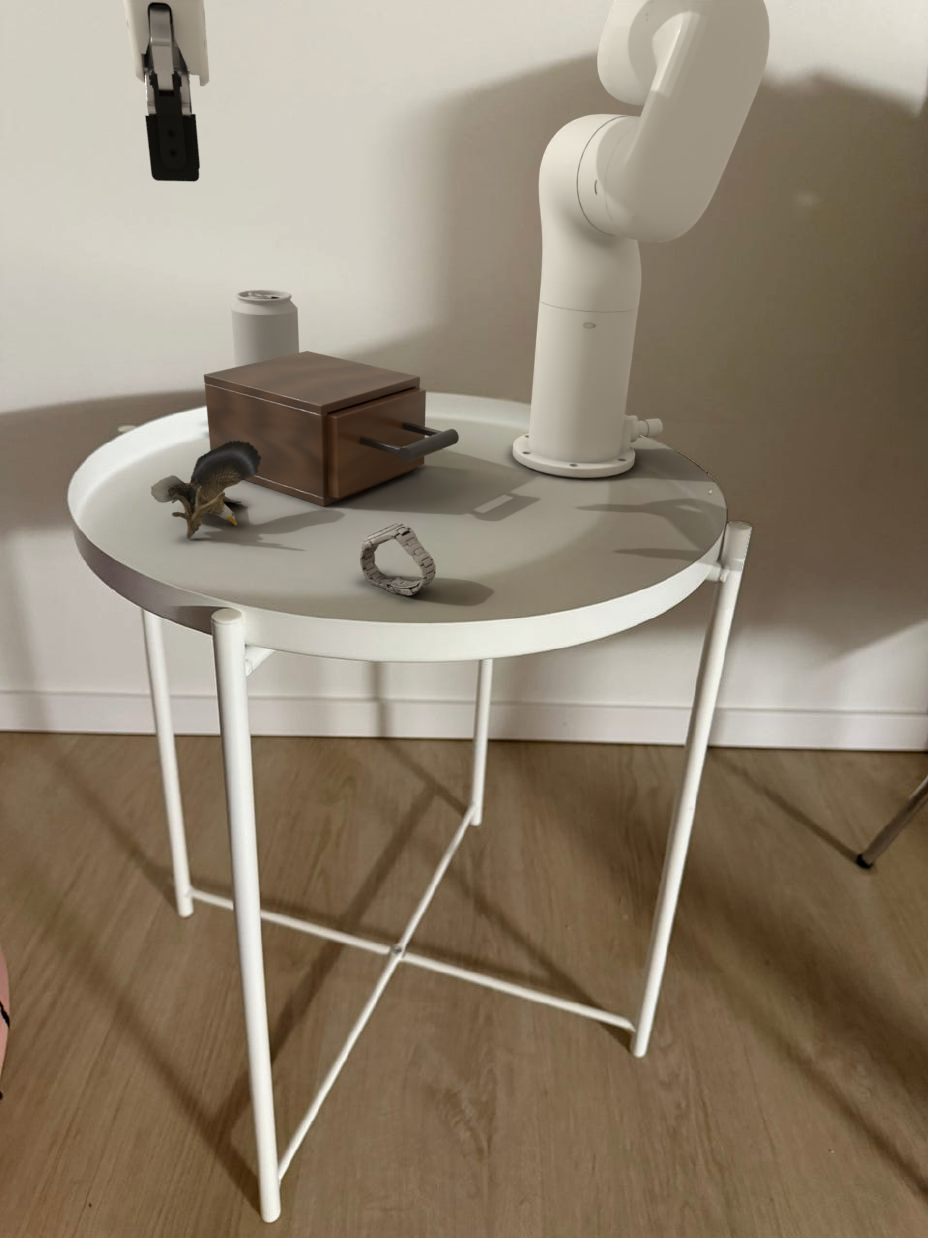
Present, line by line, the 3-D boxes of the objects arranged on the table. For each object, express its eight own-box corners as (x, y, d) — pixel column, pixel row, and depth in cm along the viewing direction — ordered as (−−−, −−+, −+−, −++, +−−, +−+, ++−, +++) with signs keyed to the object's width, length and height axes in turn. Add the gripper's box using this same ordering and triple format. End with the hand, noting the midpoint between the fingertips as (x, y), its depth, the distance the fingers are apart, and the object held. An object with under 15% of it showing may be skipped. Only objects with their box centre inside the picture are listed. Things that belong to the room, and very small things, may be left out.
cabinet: (418, 468, 95) (420, 376, 90) (323, 506, 85) (321, 405, 80) (310, 437, 102) (307, 350, 98) (211, 468, 92) (203, 374, 88)
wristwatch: (378, 569, 74) (378, 509, 72) (443, 592, 71) (445, 530, 69) (348, 584, 71) (347, 522, 69) (414, 609, 68) (416, 545, 66)
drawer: (473, 478, 90) (477, 401, 87) (390, 515, 81) (390, 432, 78) (322, 434, 100) (320, 364, 96) (232, 463, 91) (226, 387, 87)
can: (305, 404, 113) (301, 298, 107) (240, 406, 111) (232, 299, 105) (296, 387, 119) (292, 286, 113) (234, 389, 117) (227, 287, 111)
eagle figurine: (256, 532, 76) (283, 475, 83) (197, 463, 73) (230, 409, 80) (186, 568, 79) (217, 510, 86) (126, 503, 76) (163, 448, 83)
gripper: (210, -131, 56) (232, 186, 65) (208, -86, 71) (227, 168, 79) (75, -144, 55) (115, 184, 63) (102, -94, 70) (132, 165, 78)
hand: (177, 175), depth 71 cm, fingers open, 9 cm apart
